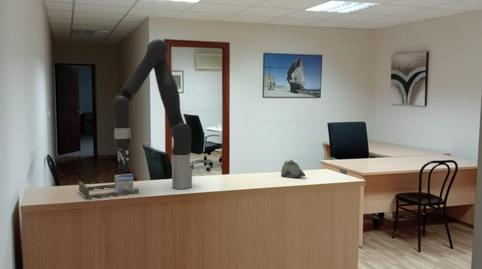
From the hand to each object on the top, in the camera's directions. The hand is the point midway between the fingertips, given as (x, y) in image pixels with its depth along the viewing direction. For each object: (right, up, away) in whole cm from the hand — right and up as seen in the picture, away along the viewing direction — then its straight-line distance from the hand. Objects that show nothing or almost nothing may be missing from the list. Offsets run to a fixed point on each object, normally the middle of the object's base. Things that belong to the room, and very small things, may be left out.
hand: (124, 170), depth 217 cm
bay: (-7, -11, -1) cm, 13 cm away
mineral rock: (+86, -7, +37) cm, 94 cm away
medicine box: (0, -11, +1) cm, 11 cm away
